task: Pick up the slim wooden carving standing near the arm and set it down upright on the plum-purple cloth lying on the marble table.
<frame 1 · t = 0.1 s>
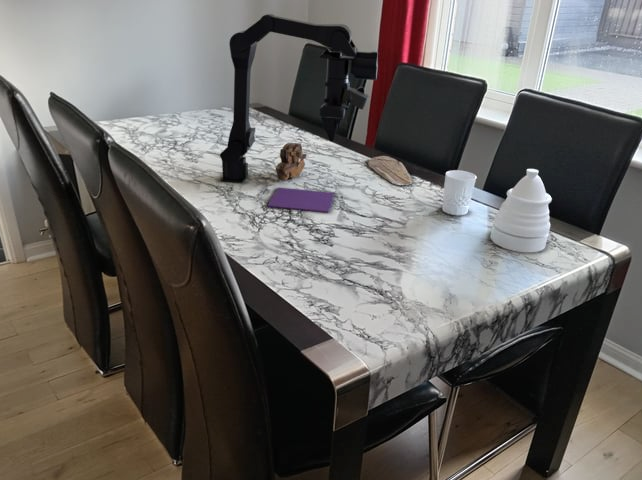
hand: (333, 136, 158), 15 cm above the table, tool pointing down, fingers open, 9 cm apart
white cup: (454, 211, 154), on the table
cloth: (302, 200, 156), on the table
fish fossil: (390, 172, 181), on the table
wooden carving: (292, 178, 172), on the table
honey pot: (517, 241, 139), on the table
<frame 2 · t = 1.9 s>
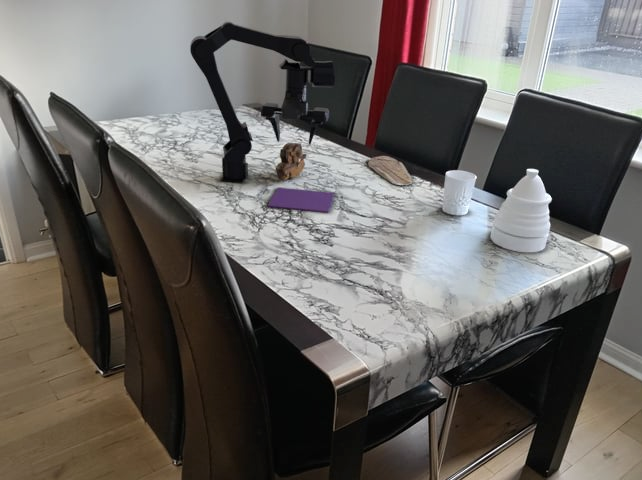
hand: (294, 142, 166), 11 cm above the table, tool pointing down, fingers open, 9 cm apart
nothing on the table moved.
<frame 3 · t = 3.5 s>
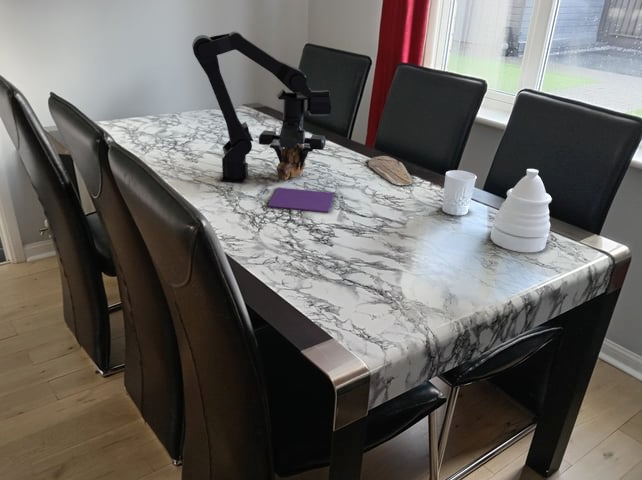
hand: (291, 168, 170), 3 cm above the table, tool pointing down, fingers closed on wooden carving, 5 cm apart
wooden carving: (292, 177, 172), on the table, touching gripper
everything else where it was.
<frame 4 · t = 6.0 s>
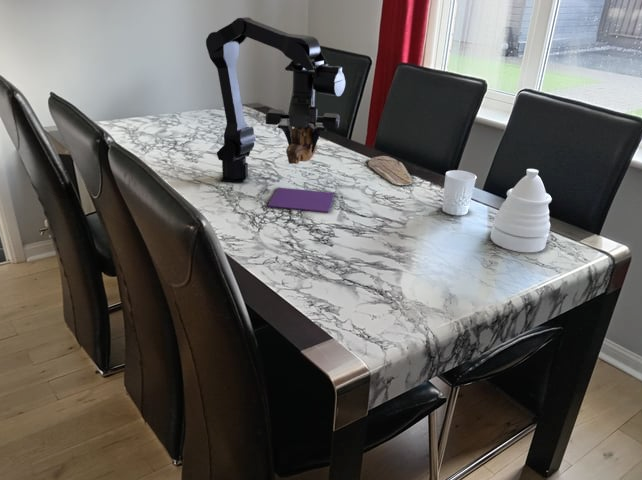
hand: (301, 151, 153), 12 cm above the table, tool pointing down, fingers closed on wooden carving, 5 cm apart
wooden carving: (302, 161, 155), point 9 cm above the table, touching gripper
everything else where it was.
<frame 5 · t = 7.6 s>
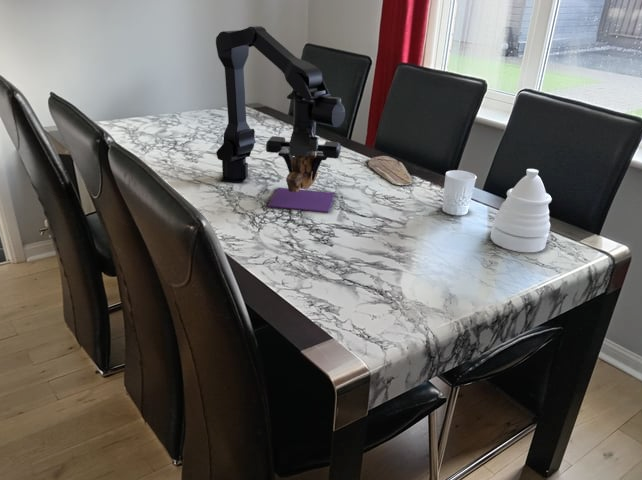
hand: (302, 179, 153), 6 cm above the table, tool pointing down, fingers closed on wooden carving, 5 cm apart
wooden carving: (303, 188, 154), point 3 cm above the table, touching gripper
everything else where it was.
when the fingers open (3 cm above the table, at t = 8.9 s): wooden carving stays where it is, resting on cloth.
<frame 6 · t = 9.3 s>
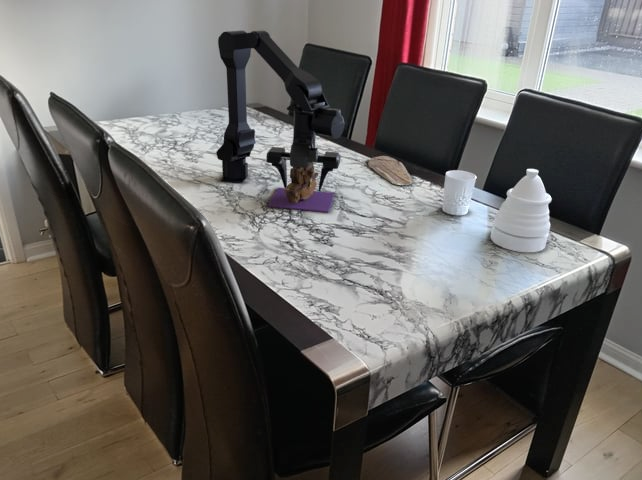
hand: (302, 189, 154), 3 cm above the table, tool pointing down, fingers open, 9 cm apart
wooden carving: (302, 199, 156), resting on cloth
everything else where it was.
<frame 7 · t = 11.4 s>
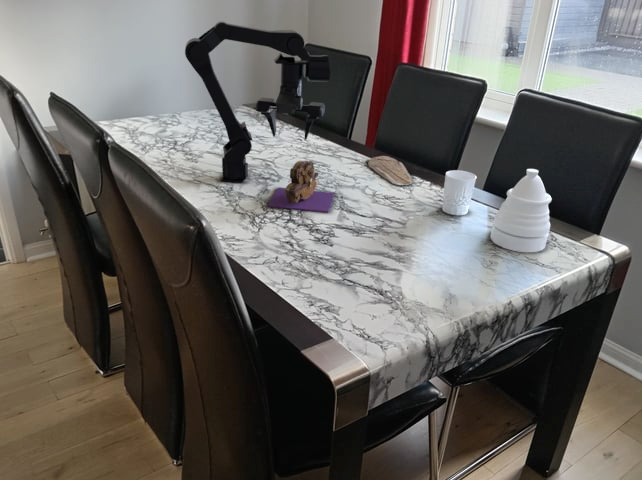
hand: (289, 137, 165), 12 cm above the table, tool pointing down, fingers open, 9 cm apart
nothing on the table moved.
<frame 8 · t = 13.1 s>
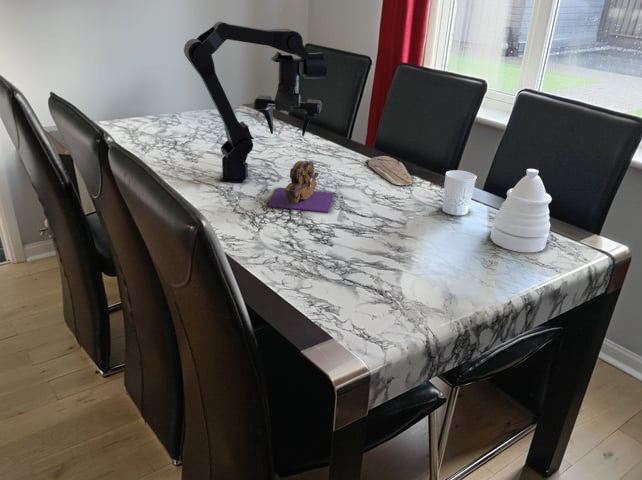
hand: (287, 134, 168), 12 cm above the table, tool pointing down, fingers open, 9 cm apart
nothing on the table moved.
at the end: wooden carving inside the target area on the cloth (0.3 cm from its centre), point 0.2 cm above the cloth's base; wooden carving touching cloth; the gripper is holding nothing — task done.
